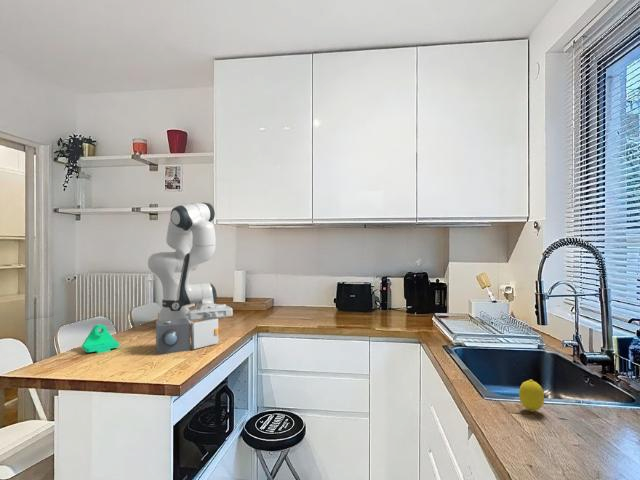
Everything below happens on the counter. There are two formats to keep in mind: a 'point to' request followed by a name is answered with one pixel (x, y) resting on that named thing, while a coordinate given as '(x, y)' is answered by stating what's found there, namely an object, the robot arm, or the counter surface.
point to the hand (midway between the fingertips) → (213, 315)
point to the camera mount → (99, 340)
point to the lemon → (531, 395)
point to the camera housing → (172, 336)
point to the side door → (204, 333)
